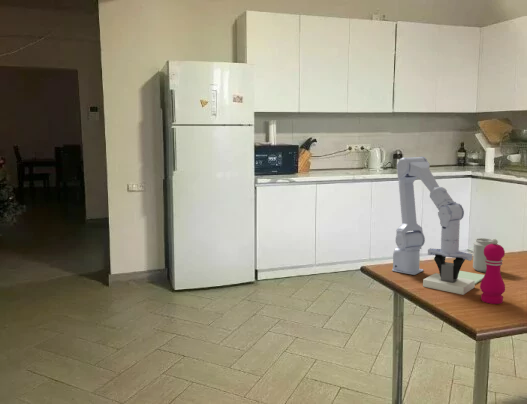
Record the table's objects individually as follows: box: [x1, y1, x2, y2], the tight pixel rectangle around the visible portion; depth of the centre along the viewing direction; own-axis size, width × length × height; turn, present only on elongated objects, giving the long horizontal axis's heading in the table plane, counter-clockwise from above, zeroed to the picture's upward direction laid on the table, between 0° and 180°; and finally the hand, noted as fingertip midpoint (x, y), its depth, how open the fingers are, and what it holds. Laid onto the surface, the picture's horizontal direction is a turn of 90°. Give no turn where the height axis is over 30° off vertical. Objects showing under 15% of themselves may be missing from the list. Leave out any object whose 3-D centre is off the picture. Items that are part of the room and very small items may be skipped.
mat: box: [458, 270, 485, 285], centre depth 181 cm, size 12×12×1 cm
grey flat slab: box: [422, 272, 476, 296], centre depth 171 cm, size 14×10×2 cm
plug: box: [441, 261, 457, 283], centre depth 170 cm, size 4×4×8 cm
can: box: [472, 237, 493, 273], centre depth 189 cm, size 8×8×12 cm
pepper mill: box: [479, 238, 506, 305], centre depth 155 cm, size 7×7×20 cm
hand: (448, 277), depth 170 cm, fingers closed on plug, 4 cm apart
